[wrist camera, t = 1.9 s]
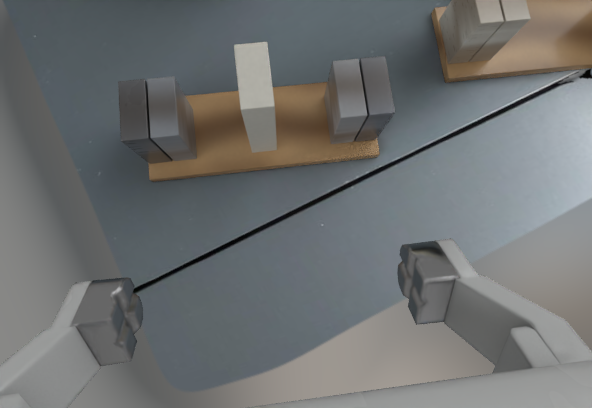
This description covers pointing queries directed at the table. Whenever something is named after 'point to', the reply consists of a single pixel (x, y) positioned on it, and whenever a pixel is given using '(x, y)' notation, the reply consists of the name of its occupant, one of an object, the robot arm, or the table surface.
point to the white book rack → (512, 37)
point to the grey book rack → (231, 129)
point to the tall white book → (256, 95)
